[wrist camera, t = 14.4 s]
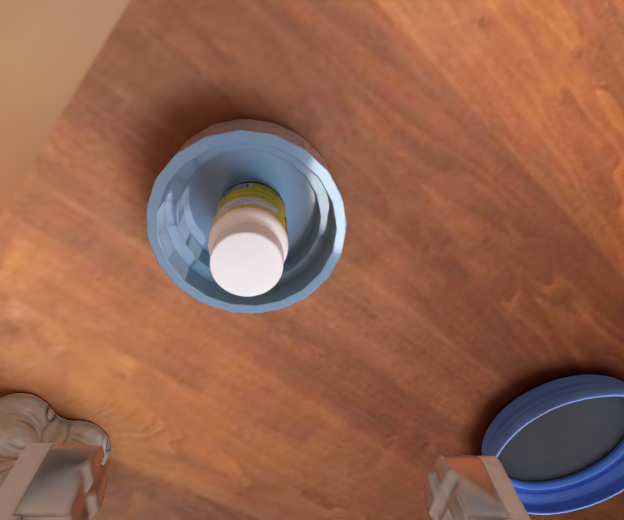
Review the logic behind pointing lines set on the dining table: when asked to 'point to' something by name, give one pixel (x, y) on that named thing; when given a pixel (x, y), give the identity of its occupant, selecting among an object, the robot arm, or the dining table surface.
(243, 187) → the supplement bottle
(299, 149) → the blue bowl
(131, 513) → the dining table surface
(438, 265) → the dining table surface
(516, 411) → the bowl
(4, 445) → the grey elephant figurine
